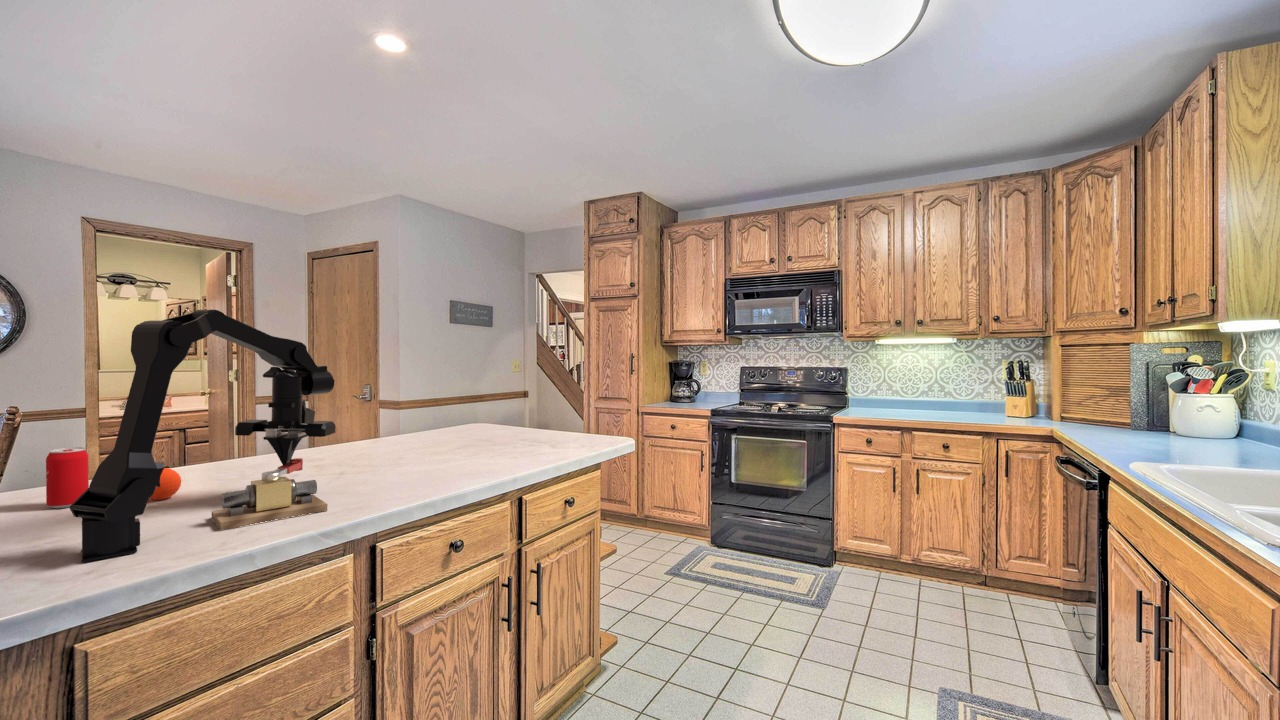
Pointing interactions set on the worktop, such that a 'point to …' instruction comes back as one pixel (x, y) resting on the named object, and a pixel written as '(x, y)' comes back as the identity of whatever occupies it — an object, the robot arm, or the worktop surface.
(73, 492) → the beverage can
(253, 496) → the valve
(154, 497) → the clementine
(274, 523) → the worktop surface
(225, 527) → the mounting board
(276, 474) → the valve lever
